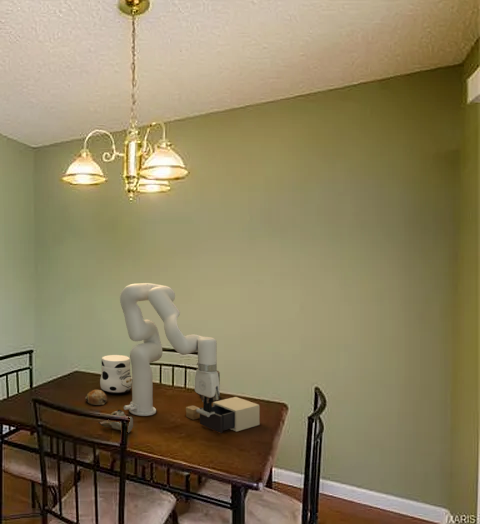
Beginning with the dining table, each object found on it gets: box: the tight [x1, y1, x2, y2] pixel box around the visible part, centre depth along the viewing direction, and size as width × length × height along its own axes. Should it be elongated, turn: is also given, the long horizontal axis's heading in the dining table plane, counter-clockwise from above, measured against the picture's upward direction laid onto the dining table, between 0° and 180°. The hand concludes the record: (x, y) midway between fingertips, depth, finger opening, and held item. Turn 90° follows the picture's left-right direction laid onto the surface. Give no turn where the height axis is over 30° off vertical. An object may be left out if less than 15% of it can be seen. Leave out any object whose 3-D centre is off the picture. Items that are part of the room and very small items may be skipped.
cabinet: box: [212, 396, 261, 433], centre depth 185 cm, size 15×13×9 cm
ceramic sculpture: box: [98, 409, 134, 434], centre depth 178 cm, size 11×9×15 cm
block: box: [185, 405, 201, 421], centre depth 192 cm, size 4×4×4 cm
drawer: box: [196, 405, 235, 434], centre depth 179 cm, size 18×11×8 cm, turn 120°
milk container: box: [99, 354, 132, 395], centre depth 231 cm, size 17×17×18 cm
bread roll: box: [85, 389, 108, 406], centre depth 213 cm, size 10×10×8 cm
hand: (207, 411), depth 176 cm, fingers closed
